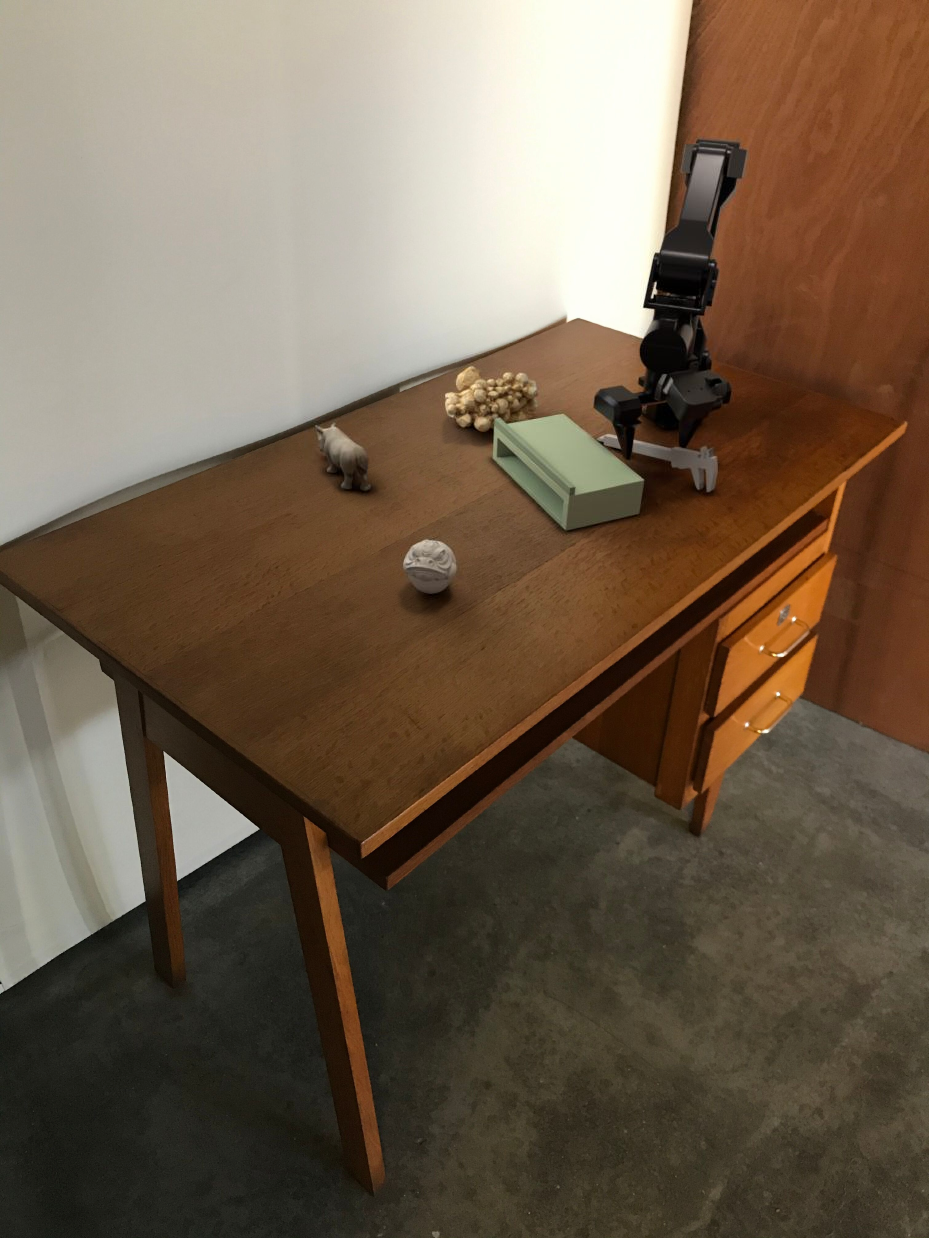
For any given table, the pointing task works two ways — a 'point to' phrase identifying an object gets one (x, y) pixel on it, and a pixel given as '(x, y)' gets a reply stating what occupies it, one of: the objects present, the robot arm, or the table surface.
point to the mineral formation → (491, 399)
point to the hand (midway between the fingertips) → (654, 453)
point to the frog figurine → (430, 566)
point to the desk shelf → (567, 471)
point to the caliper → (677, 458)
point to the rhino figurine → (343, 455)
